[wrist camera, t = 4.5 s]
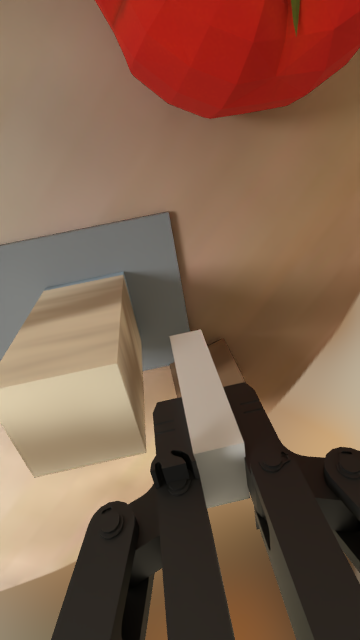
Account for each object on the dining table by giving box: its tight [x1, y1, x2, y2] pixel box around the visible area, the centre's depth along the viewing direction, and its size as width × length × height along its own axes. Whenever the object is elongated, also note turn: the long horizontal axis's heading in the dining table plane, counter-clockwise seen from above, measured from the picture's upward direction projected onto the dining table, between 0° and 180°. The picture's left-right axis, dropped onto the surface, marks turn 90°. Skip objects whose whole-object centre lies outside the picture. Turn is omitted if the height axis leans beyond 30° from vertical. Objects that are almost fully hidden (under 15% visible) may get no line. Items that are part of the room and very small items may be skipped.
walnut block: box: [170, 338, 246, 398], centre depth 23 cm, size 4×4×6 cm
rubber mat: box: [0, 212, 190, 371], centre depth 22 cm, size 11×19×1 cm, turn 100°
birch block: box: [0, 271, 146, 478], centre depth 17 cm, size 5×5×10 cm
